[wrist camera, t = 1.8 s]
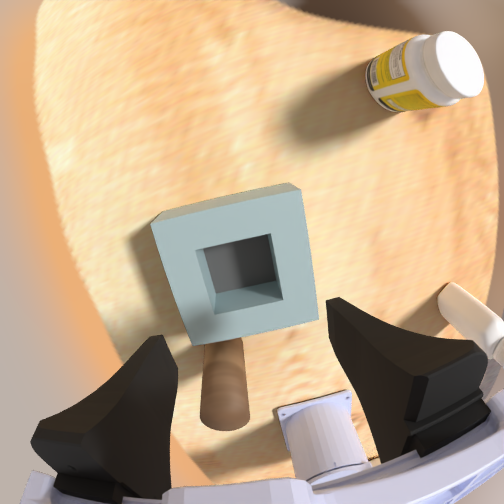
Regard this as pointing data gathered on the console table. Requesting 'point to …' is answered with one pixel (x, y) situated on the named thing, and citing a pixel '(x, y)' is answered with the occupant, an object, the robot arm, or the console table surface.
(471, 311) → the eye dropper bottle
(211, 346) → the pin
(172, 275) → the socket block
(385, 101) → the supplement bottle
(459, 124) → the console table surface
